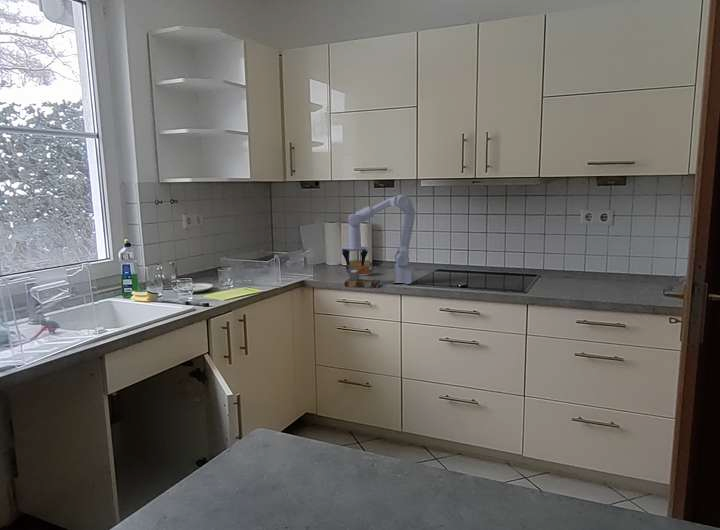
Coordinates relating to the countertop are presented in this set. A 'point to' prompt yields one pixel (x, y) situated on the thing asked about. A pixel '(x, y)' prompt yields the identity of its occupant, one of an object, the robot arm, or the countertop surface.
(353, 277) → the plug
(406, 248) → the robot arm
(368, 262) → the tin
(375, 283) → the brown flat block
